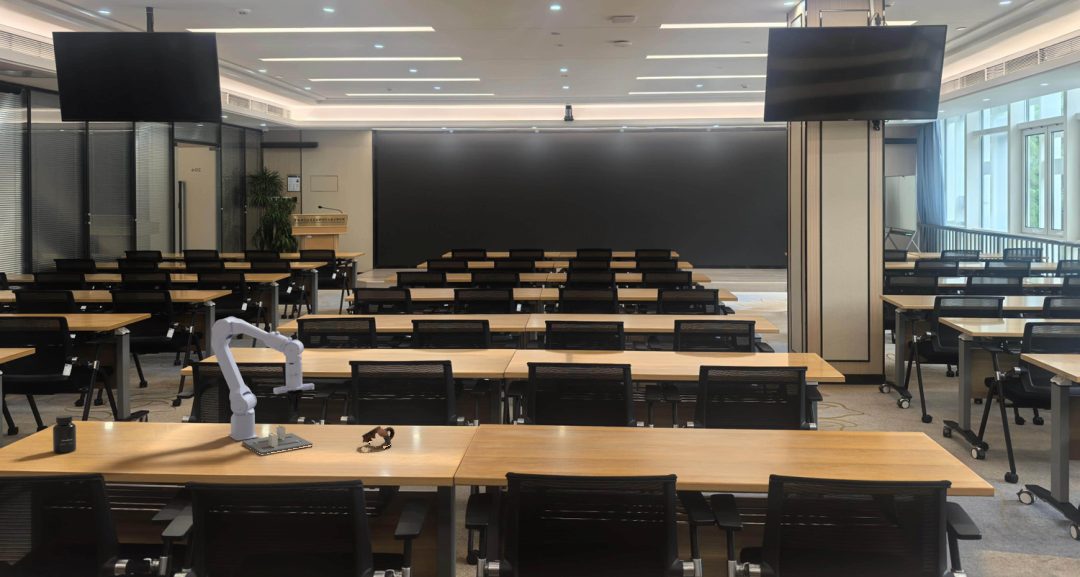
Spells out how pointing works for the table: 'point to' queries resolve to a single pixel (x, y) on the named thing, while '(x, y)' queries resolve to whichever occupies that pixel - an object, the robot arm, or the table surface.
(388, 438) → the brown arched piece
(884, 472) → the table surface
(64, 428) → the supplement bottle
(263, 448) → the console
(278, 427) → the fader
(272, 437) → the fader
